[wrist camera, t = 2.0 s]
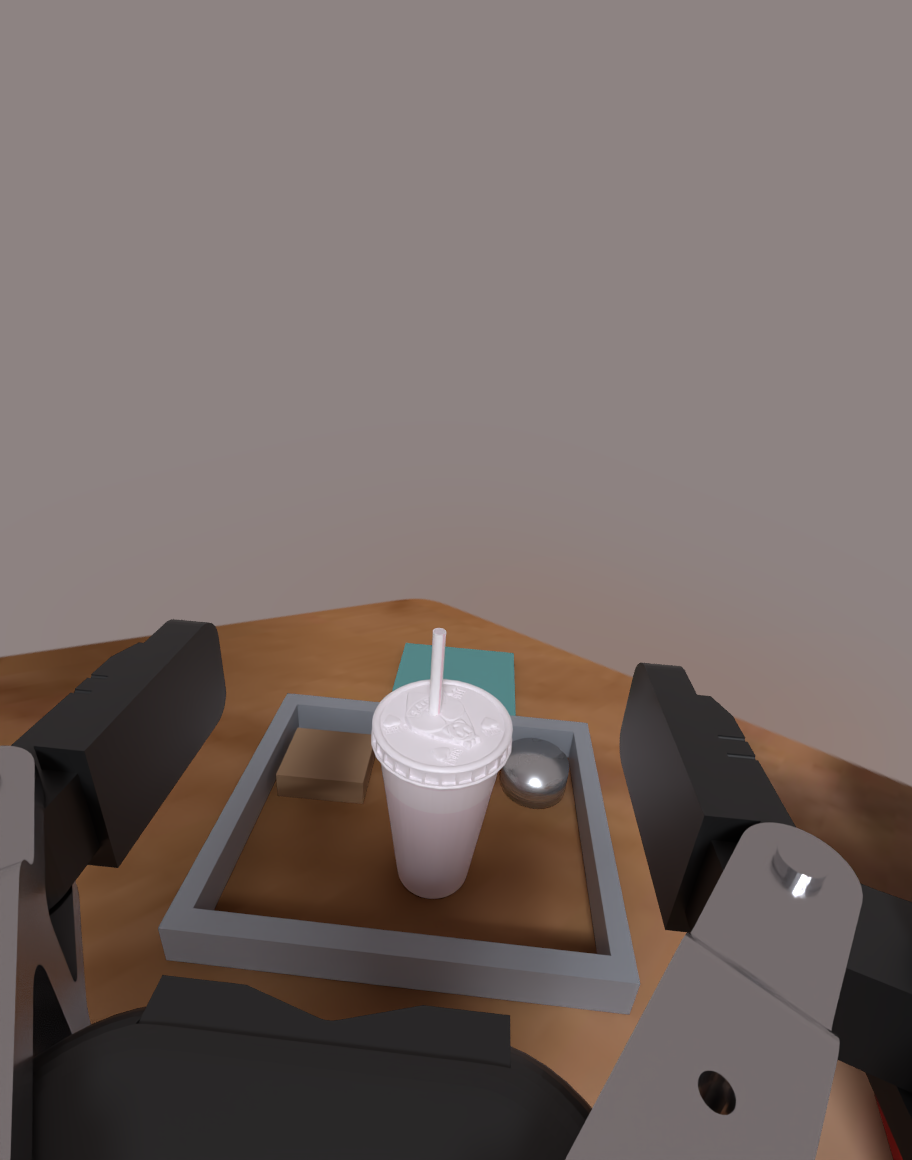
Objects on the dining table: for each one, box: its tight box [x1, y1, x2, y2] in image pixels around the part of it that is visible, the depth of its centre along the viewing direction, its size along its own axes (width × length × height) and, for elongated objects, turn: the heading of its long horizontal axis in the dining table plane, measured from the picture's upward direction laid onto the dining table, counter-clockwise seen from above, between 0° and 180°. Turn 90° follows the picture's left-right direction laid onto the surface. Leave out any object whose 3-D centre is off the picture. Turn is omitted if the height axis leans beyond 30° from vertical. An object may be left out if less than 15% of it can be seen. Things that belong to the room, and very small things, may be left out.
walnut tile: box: [276, 728, 375, 804], centre depth 35 cm, size 5×4×2 cm
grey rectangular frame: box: [158, 693, 640, 1014], centre depth 31 cm, size 20×16×2 cm
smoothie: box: [371, 628, 513, 899], centre depth 27 cm, size 6×6×14 cm
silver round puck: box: [500, 738, 569, 809], centre depth 35 cm, size 4×4×2 cm
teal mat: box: [392, 643, 516, 716], centre depth 44 cm, size 9×9×1 cm
